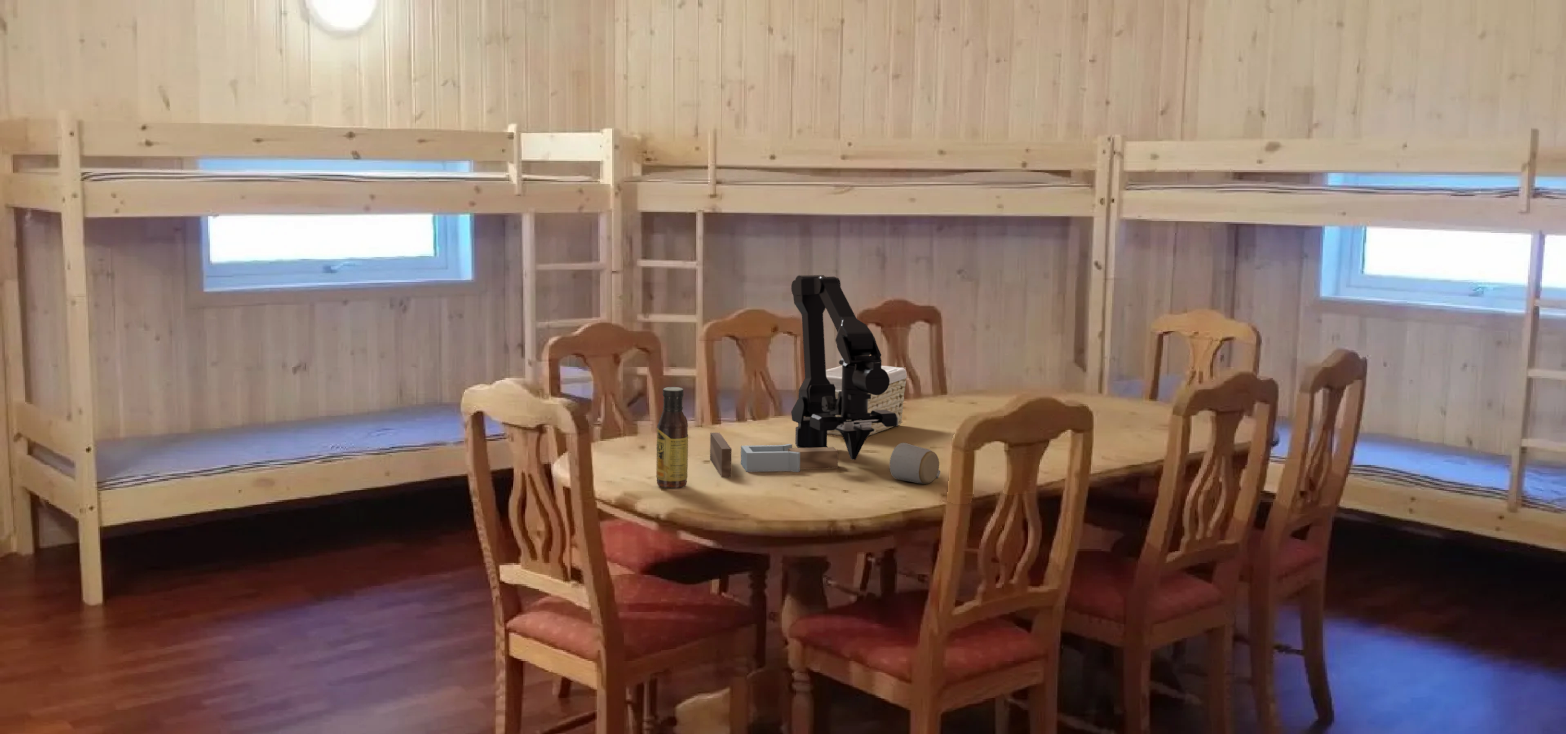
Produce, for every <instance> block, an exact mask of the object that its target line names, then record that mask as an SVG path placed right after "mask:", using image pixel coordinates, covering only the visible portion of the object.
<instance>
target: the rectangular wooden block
mask: <svg viewBox="0 0 1566 734" xmlns="http://www.w3.org/2000/svg"><path fill="white" fill-rule="evenodd" d="M789 451H791V452H798V453H800V470H813V469H814V470H816V469H821V470H822V469H838V465H839V463H838V459H839V458H838V457H839V455H838V454H839V450H838V449H836V448H835V447H833V446H827V447H818V448H798V447H792V448H788V452H789Z"/></svg>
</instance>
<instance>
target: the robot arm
mask: <svg viewBox="0 0 1566 734" xmlns="http://www.w3.org/2000/svg"><path fill="white" fill-rule="evenodd" d="M790 285H791V287H790V290H791V294H792V296H793V297H792V298H793V304H794V306H795V307H796V308H797V310H798V312H799V313H800V314H801V323H802V324H801V325H802V326H801V327H802V344H803V365H804V380H803V381H802V383H801V385H800V386H799V389H798V397H797V400H796V402H795V404H794V406H793V408H792V409H791V413H790V415H791V421H793V422H795V423H797V426H795V439H794V440H795V441H794V443H795V446H796V448H818V447H828V434H827V431H829V430H837V431H839V432H840V433H841V435H840V436H842V439H843V441H844V443H845V446H846V447H845V448H846V450H847V453H848V456H849V459H850V460H852V461H855V460H857V458H858V456H859V454H860V451H862V447H863V446H864V444H865V441H866V440H867V439H868V438H869V436H870V435H869V434H870V432H873V431H874V429H873V428H871V424H872V423H882V424H883V425H884V426H885V427H892V426H893V427H899V425H898V417H897V415H896V414H895V413H893V412H891V411H888V410H873V411H872V412H871V413H868V399H871V394H873V395H880V394H882V393H884V392H885V391H886V390H887V388H888V386H889V382H890V379H889V376H888V374H887V372H886V371H885V370H883V369H881V366H883V364H882V362H883V361H882V354H881V353H882V352H881V350H880V348H879V346H878V344H877V341H876V338H875V336H874V333H873V332H872V331H871V329H870V328H869V326H868V325H867V324H866V323H864V322H863V321H861V320H859V319H858V317H856V314H855V313H854V311H853V309H852V307H851V305H850V303H849V300H848V299H847V297H846V295H845V293H844V290H843V289H842V287H841V285H842V284H841V280H840V279H839V277H836V276H825V275H824V274H812V275H811V274H804V275H802V274H801V275H800V274H799V275H797V276H796V277H795V279H794V280H793V281H791V284H790ZM825 310H826V311H827V313H828V316H829V317H830V319H831V321H832V323H833V325H834V327H835V330H836V335H835V336H836V337H835V339H834V340H835V343H836V348H837V351H838V353H839V354H840V356H841V359H840V360H839V361H838V363H839V365H840V366H842V391H839V393H838V399H836V396H835V386H834V384H831V383H830V382H829V380H828V379H827V377H826V370H827V368H826V367H827V366H826V365H827V363H826V346H825V345H826V344H825V343H826V342H825V329H824V328H825V325H824V312H825ZM869 393H870V394H869ZM835 415H841V417H836V416H835ZM846 420H851V421H846ZM893 427H892V428H893Z"/></svg>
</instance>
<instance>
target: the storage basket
mask: <svg viewBox="0 0 1566 734" xmlns="http://www.w3.org/2000/svg"><path fill="white" fill-rule="evenodd" d="M881 369H883V370H885V371H886V372H887V374H888V376H889V379H890V382H889V386H888V388H887V390H886V391H885V392H884V393H882V394H880V395H873V394H871V399H868V413H871V412H872V411H873V410H888V411H891V412H893V413H895V414H896V415H897V417H898V426H899V425H901V424H902V423H903V412H904V411H903V409H904V401H905V397H904V396H905V391H906V388H905V387H906V384H907V370H906V369H905V367H898V366H896V367H895V366H890V365H881ZM826 377H827V379H828V380H829V382H830V383H831V384H834V386H835V396H836V399H838V393H839V391H842V365H840V366H836V367H832V368H828V369H827V368H826ZM869 394H870V393H869ZM835 416H836V417H841V415H835ZM846 421H851V420H846ZM871 428H873V429H874V431H873V432H870V434H869V436H871V435H874V434H878V433H879V432H883V431H886V430H889V429H890V428H894V426H892V427H885V426H884V425H883V424H882V423H872V424H871ZM827 435H835V436H842V435H841V433H840V432H839V431H837V430H829V431H827Z"/></svg>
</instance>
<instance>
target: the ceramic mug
mask: <svg viewBox="0 0 1566 734" xmlns="http://www.w3.org/2000/svg"><path fill="white" fill-rule="evenodd" d="M939 468H940V460H939V456H938V454H937V453H936V452H934V450H931V449H929V448H925V447H920V446H917V445H913V444H910V443H907V442H900V443H898V444H897V445H896V446H895V447H894V448H893V450H892V453H891V454H890V459H889V471H890V474H891V476H892V477H893V478H894V479H895V480H898V481H899V480H900V481H903V482H909V483H916V484H920V485H926V484H927V485H928V484H931V483H932V482H933V481H934V480H935V479H939V478H940V476H941V470H939Z"/></svg>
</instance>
